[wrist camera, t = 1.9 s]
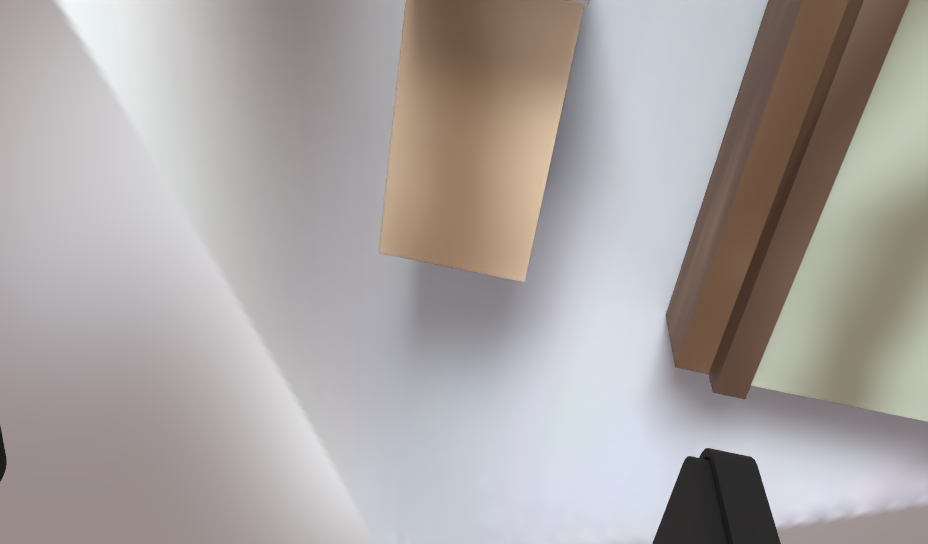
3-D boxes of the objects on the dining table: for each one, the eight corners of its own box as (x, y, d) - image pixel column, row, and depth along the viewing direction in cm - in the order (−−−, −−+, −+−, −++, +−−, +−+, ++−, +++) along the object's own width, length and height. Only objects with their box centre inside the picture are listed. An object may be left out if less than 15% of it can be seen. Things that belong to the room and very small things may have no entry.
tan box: (591, -56, 27) (593, -22, 18) (536, 202, 31) (517, 329, 23) (452, -80, 27) (388, -59, 18) (419, 179, 32) (355, 296, 23)
